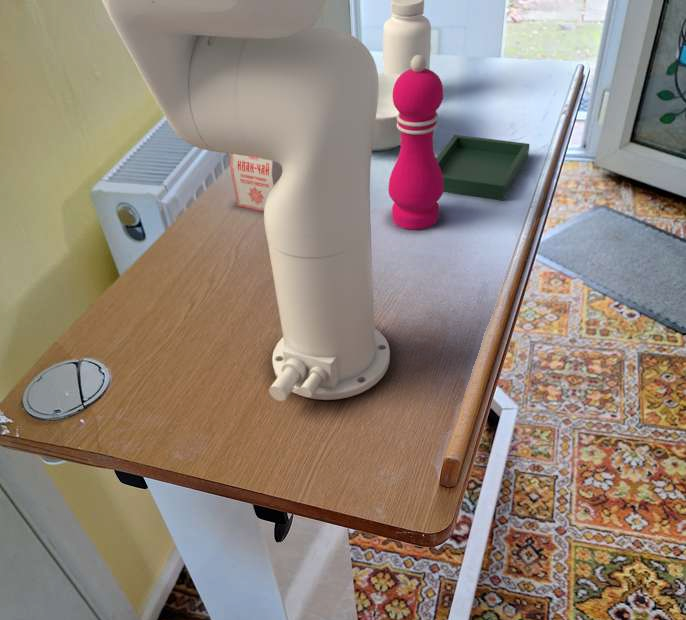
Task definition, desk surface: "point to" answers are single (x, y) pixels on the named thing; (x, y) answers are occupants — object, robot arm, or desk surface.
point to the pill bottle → (405, 36)
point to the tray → (481, 165)
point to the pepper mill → (416, 148)
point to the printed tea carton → (253, 180)
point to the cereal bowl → (386, 115)
